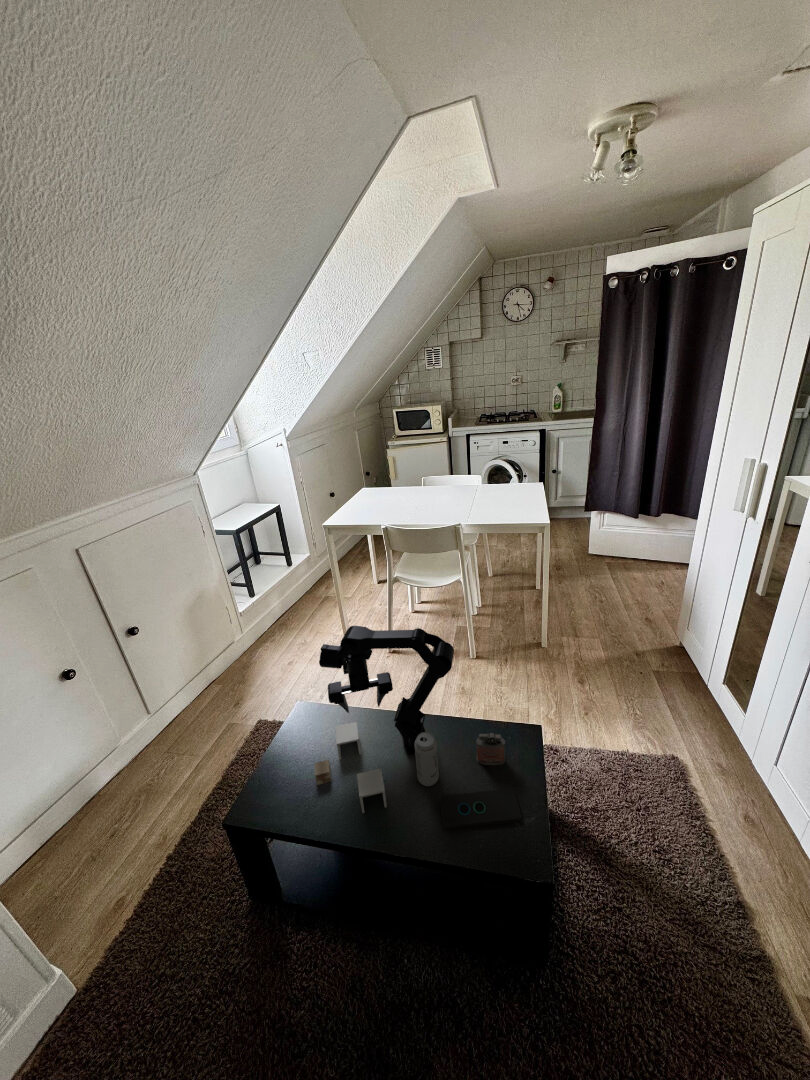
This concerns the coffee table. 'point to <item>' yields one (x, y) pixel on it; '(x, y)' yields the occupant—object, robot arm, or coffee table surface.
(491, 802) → the smart home device
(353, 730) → the grey piece
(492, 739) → the lighter
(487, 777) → the coffee table surface
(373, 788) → the grey stool
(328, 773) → the brown wooden cube
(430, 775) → the energy drink can
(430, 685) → the robot arm
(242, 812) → the coffee table surface
